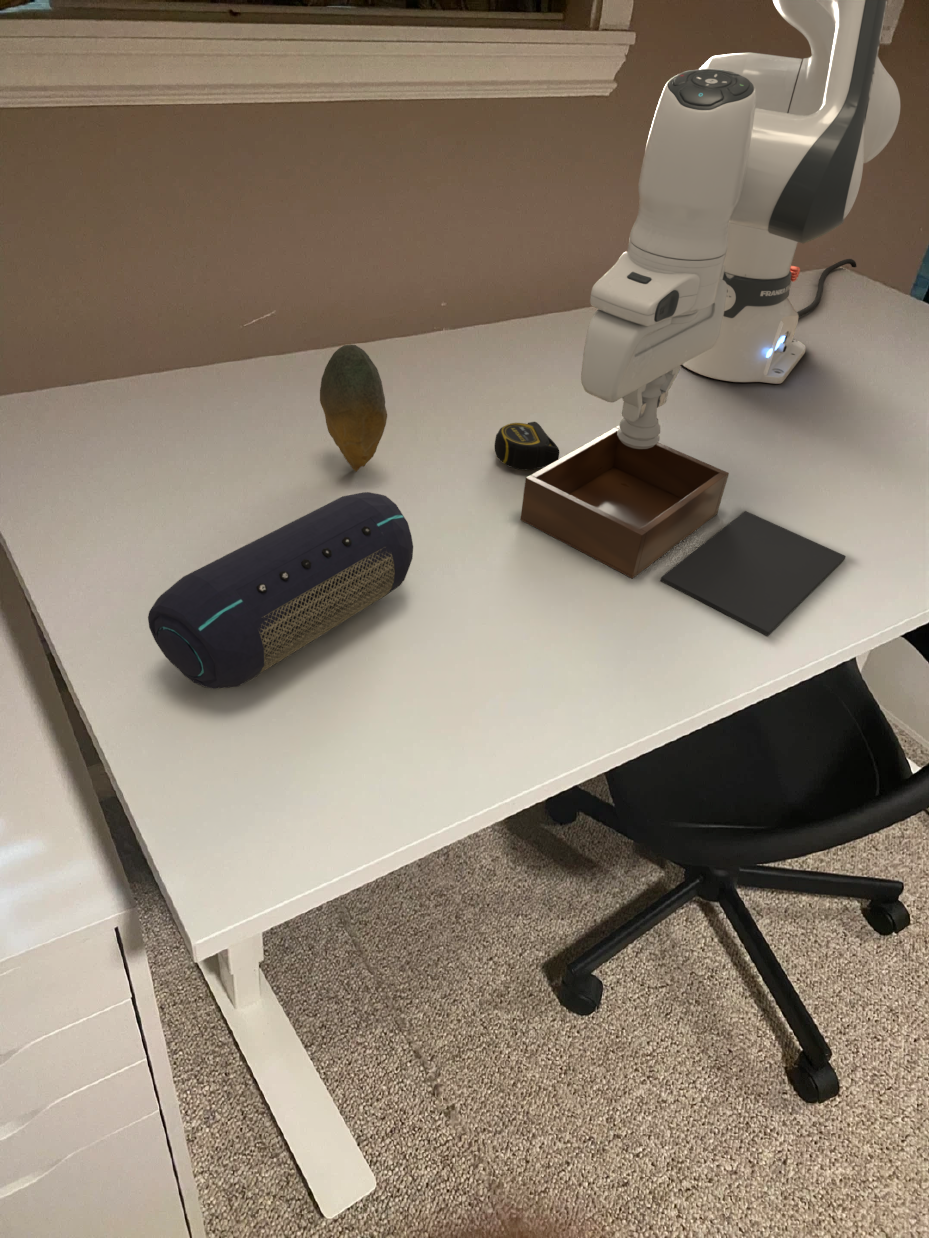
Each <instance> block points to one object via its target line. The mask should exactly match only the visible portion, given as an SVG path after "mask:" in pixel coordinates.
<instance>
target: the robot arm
mask: <svg viewBox="0 0 929 1238" xmlns="http://www.w3.org/2000/svg"><path fill="white" fill-rule="evenodd" d="M772 2H773V5H774V7H775V9H776V11H777V12H778V14H779V15H780V16H781V17H782V18H783V19H784V20H785V22H786V23H788V24H789V25H790V26H792V27H793V28H795V29H796V30H797V31H798V32H799V33H800V34H802V35H803V36H804V38H805V39H806V40H807V42H808V45H809V48H810V52H811V55H810V56H808V57H803V58H798V57H790V56H782V55H774V54H766V53H759V52H750V51H749V52H748V51H747V52H737V53H727V54H718V55H713V56H711V57H710V58H708V60H706V61H705V62H704V64H702V65H701V67H699V68H698V69H693V70H692V69H691V70H686V71H683V72H681V73H678V74H677V75H674V76H673V77H671V78H670V79H669V80H668V81H667V82H666V83H665V85H664V87H663V90H662V92H661V95H660V97H659V100H658V104H657V106H656V110H655V112H654V115H653V116H654V117H653V119H652V122H651V127H650V129H649V133H648V138H647V141H646V146H645V150H644V154H643V157H642V158H643V159H642V164H641V169H640V174H639V180H638V185H637V192H638V202H639V203H638V211H637V216H636V219H635V220H634V223H633V226H632V227H631V230H630V233H629V236H628V237H629V238H628V244H627V248H626V251H623V253H622V254H621V255H620V257H618V259H617V261H616V262H615V263H614V265H612V267H610V268H609V269H608V270H607V272H606V273H604V274H603V275H602V276H601V277H600V278H599V279H598V280H597V281H596V282H595V283H594V284H593V286H592V287H591V292H590V297H589V303H590V304H589V305H590V306H591V307H592V308H595V309H597V310H596V311H595V312H594V314H593V315H592V316H591V319H590V321H589V325H588V326H587V331H586V336H585V337H586V338H585V341H584V349H583V355H582V362H581V371H580V382H581V385H582V388H583V390H584V391H585V393H587V394H589V395H590V396H593V397H595V398H597V399H600V400H602V401H605V402H607V403H615V402H617V401H619V400H620V399H622V401H623V403H622V409H621V416H622V419H623V418H625V419H627V420H629V421H632V422H634V421H636V420H638V419H639V418H641V417H643V416H644V410H645V408H646V402H644V401H642V392H643V391H645V388H646V384H648V383H649V382H651V381H653V380H655V379H657V378H658V377H660V376H662V375H664V374H665V376H666V378H667V381H666V382H665V383H664V384H663V385H662V386H661V387H660V391H661V395H660V396H659V398H658V402H657V409H658V408H660V407H662V406H664V405H665V404H666V403H667V400H668V399H667V398H668V396H669V395H668V394H669V391H670V389H671V387H672V385H673V383H674V381H675V380H676V378H677V377H678V374H679V373H680V369H681V366H683V367H684V368H687V369H688V370H690V371H692V372H694V373H695V374H698V375H701V376H704V377H708V378H711V379H714V380H720V381H724V382H733V383H766V384H776V385H777V384H779V385H780V384H782V383H784V381H785V380H786V379H787V377H788V376H789V375H790V373H791V372H792V371H793V370H794V368H795V367H796V366H797V364H798V363H799V361H800V360H801V359H802V358H803V356H805V353H806V349H807V346H806V345H805V344H804V343H802V342H801V341H799V340H797V339H796V338H795V337H794V336H795V333H796V329H797V326H798V322H799V318H800V317H802V316H804V315H806V314H809V313H810V312H811V311H812V310H815V308H816V307H817V306H818V304H819V303H820V301H821V299H822V295H823V292H824V284H825V280H826V278H827V276H828V275H829V273H830V272H832V271H835V270H836V269H838V268H840V267H842V266H845V265H850V266H851V268H857V261H856V260H854V259H852V258H846V259H843V260H840V261H838V262H835V263H834V264H831V265H830V266H828V267H826V268H825V269H824V270H823V272H822V273H821V275H820V277H819V279H818V285H817V291H816V294H815V298H814V300H813V301H812V302H811V303H810V304H809V305H807V306H806V307H804V308H802V309H800V310H798V311H797V310H796V309H795V307H794V306H793V304H792V303H791V301H790V299H789V296H790V291H791V287H792V282H793V283H795V282H796V281H797V280H798V278H799V276H800V272H801V267H799V266H794V265H792V264H793V262H794V261H793V260H794V257H795V254H796V251H797V250H796V249H797V247H798V243H800V244H805V243H809V242H811V241H814V240H816V239H818V238H821V237H822V236H824V235H826V234H829V233H830V232H832V231H834V230H835V229H837V228H838V227H839V226H841V225H842V224H844V222H845V219H846V217H847V216H848V215H849V213H850V212H851V210H852V209H853V206H854V204H855V203H856V199H857V197H858V194H859V191H860V187H861V184H862V183H861V182H862V177H863V170H864V164H867V163H869V162H870V161H872V160H873V159H874V158H876V157H877V156H878V155H879V154H880V153H881V152H882V151H883V150H884V149H885V148H886V146H887V145H888V144H889V142H890V141H891V139H892V137H893V136H894V134H895V131H896V129H897V127H898V123H899V120H900V116H901V115H900V114H901V96H900V91H899V88H898V86H897V84H896V81H895V80H894V78H893V77H892V76H891V74H889V72H888V71H887V70H886V68H885V67H884V65H883V63H882V62H881V59H880V57H879V50H880V46H881V45H880V44H881V41H882V34H883V28H884V23H885V17H886V12H887V6H888V0H772Z"/></svg>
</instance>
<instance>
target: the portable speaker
mask: <svg viewBox="0 0 929 1238" xmlns="http://www.w3.org/2000/svg"><path fill="white" fill-rule="evenodd" d="M413 554H414V543H413V537H412V532H411V529H410V525H409V522H408V521H407V519H406V518H405V516H404V515H403V512H402V511H401V509H400V508H399V507H398V505H397V504H396V503H395V502H394V501H393V500H391V499H390V498H389V497H388V496H387V495H384V494H380V493H377V492H376V493H375V492H370V491H365V492H359V493H353V494H349V495H343V496H341V497H338V498H336V499H334V500H332V501H331V502H329V503H327V504H324V505H322V506H321V507H318V508H317V509H314V510H312V511H311V512H309V513H307V514H305V515H302V516H301V517H299V518H297V519H295V520H293V521H291V522H288V523H287V524H285V525H283V526H281V527H279V528H277V529H275V530H273V531H271V532H269V533H268V534H265V535H263V536H261V537H259V538H257V539H255V540H253V541H251V542H249V543H247V544H245V545H243V546H242V547H240V548H237V549H235V550H233V551H232V552H229V553H228V554H225V555H224V556H222V557H220V558H217V559H216V560H214V561H212V562H210V563H208V564H205V565H204V566H202V567H199V568H198V569H195V570H194V571H192V572H189V573H188V574H186V575H183V576H182V577H181V578H179V579H178V580H177V581H176V582H175V583H173V585H171V586H170V587H169V588H168V589H167V590H165V591H164V592H163V593H162V594H160V595H159V597H157V599H156V601H155V602H154V603H153V604H152V607H151V608H150V609H149V611H148V615H147V621H148V628H149V630H150V633H151V636H152V638H153V640H154V642H155V644H156V645H157V646H158V648H159V649H160V651H161V652H162V654H163V656H164V657H165V658H166V659H167V660H168V661H169V662H170V663H171V664H172V665H173V666H174V667H175V668H176V669H177V670H178V671H179V672H180V673H181V674H182V675H183V676H185V677H186V678H187V679H188V680H190V681H191V682H193V683H194V684H196V685H199V686H202V687H204V688H207V689H212V690H213V689H225V688H235V687H239V686H241V685H243V684H245V683H246V682H248V681H250V680H252V679H254V678H255V677H257V676H258V675H260V674H262V673H263V672H264V671H266V670H268V669H269V668H271V667H273V666H275V665H276V664H278V663H279V662H281V661H282V660H284V659H286V658H287V657H289V656H290V655H292V654H293V653H295V652H297V651H298V650H300V649H301V648H303V647H305V646H307V645H308V644H310V643H311V642H313V641H314V640H316V639H318V638H319V637H321V636H323V635H324V634H326V633H328V631H330V630H332V629H334V628H336V627H337V626H338V625H340V624H342V623H344V622H345V621H346V620H349V619H350V618H351V617H353V616H355V615H357V614H358V613H359V612H361V611H363V610H364V609H366V608H368V607H369V606H370V605H373V604H374V603H375V602H378V601H379V600H380V599H382V598H385V597H386V596H387V595H389V594H390V593H392V592H393V591H394V590H396V589H397V588H399V587H401V585H402V584H403V582H404V581H405V579H406V577H407V575H408V572H409V569H410V566H411V564H412V561H413V556H414V555H413Z"/></svg>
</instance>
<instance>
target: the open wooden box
mask: <svg viewBox="0 0 929 1238" xmlns="http://www.w3.org/2000/svg"><path fill="white" fill-rule="evenodd" d="M619 429H620V428H619V425H617V426H614V427H613V428H611V429H610V430H607V431H606V432H604V433H602V434H601V435H599V436H597V437H595V438H594V439H592V440H590V441H588V442H587V443H585V444H583V445H581V446H579V447H578V448H576V449H574V450H572V451H571V452H569V453H566V454H565V455H564V456H562V457H559V458H558V460H556V461H555V462H553V463H551V464H549V465H548V466H545V467H541V468H540V469H538V470H536V471H535V472H533V473H532V474H530V475H528V476H526V477H525V480H524V488H523V498H522V505H521V512H520V517H519V518H520V520H521V521H522V522H524V523H526V524H528V525H530V526H531V527H534V528H535V529H537V530H539V531H541V532H542V533H544V534H547V535H549V536H550V537H552V538H554V539H556V540H558V541H560V542H562V543H564V544H566V545H568V546H570V547H571V548H574V549H575V550H577V551H578V552H581V553H583V554H585V555H587V556H588V557H590V558H592V559H594V560H596V561H598V562H600V563H602V564H604V565H606V566H607V567H610V568H611V569H613V570H615V571H617V572H619V573H621V574H623V575H625V576H626V577H629V578H631V579H633V578H635V577H636V576H638V575H639V574H640V573H641V572H643V571H644V570H646V568H648V567H650V566H651V565H652V564H653V563H654V562H656V561H657V560H659V559H660V558H661V557H662V556H664V555H666V553H668V552H669V551H671V550H672V549H673V548H674V547H676V546H677V545H678V544H680V543H681V542H682V541H683V540H685V539H687V538H688V537H689V536H690V535H692V534H693V533H694V532H695V531H697V530H698V529H699V528H701V527H702V526H704V525H705V524H706V523H707V522H708V521H710V520H711V519H712V518H714V517H715V516H716V515H717V514H719V510H720V506H721V502H722V498H723V495H724V492H725V488H726V485H727V482H728V478H729V475H730V473H729V472H727V471H726V470H723V469H721V468H719V467H716V466H714V465H711V464H709V463H708V462H707V463H706V462H704V461H702V460H700V459H697V458H696V457H694V456H691V455H688V454H686V453H684V452H682V451H680V450H677V449H675V448H672V447H670V446H668V445H665V444H663V443H661V442H660V441H658V443H657V444H655V445H654V446H653V447H651V448H648V449H636V448H631V447H629V446H626V445H625V444H623V443H622V442H621V441H620V439H619V437H618V436H617V431H618V430H619Z"/></svg>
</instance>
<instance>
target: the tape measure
mask: <svg viewBox="0 0 929 1238" xmlns="http://www.w3.org/2000/svg"><path fill="white" fill-rule="evenodd" d="M494 453H495V455H496V457H497V459H498V460H499V461H500V462H502V464H504V465H505V466H507V467H509V468H512V469H516V470H520V471H521V470H523V471H534V470H538V469H542V468H544V467H546V466H548V465H549V464H551V463H553V462H555V461H556V460H558V459H560V449H559V446H558V445H557V444H556V443H555V442H554V440H553V439H552V438H551V437H549V435H548V434H547V433H546V432H545V430H544V428H543V427H542V426H541V425H540V424H539V422H536V421H530V422H527V423H526V422H525V423H523V422H511V423H508V424H505V425H503V426H502V427H500V428H499V430H498V431H497V433H496V435H495V439H494Z"/></svg>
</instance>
